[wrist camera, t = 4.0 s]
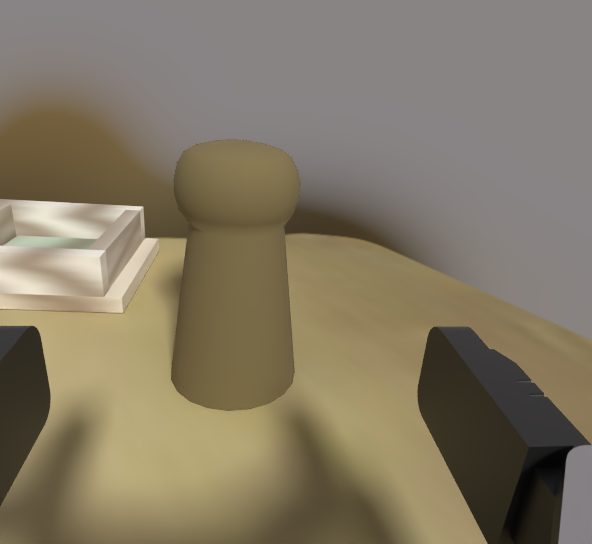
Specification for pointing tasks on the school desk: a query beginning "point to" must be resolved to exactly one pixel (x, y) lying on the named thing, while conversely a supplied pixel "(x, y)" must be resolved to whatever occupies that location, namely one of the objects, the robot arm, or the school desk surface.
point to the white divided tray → (72, 255)
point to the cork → (234, 274)
